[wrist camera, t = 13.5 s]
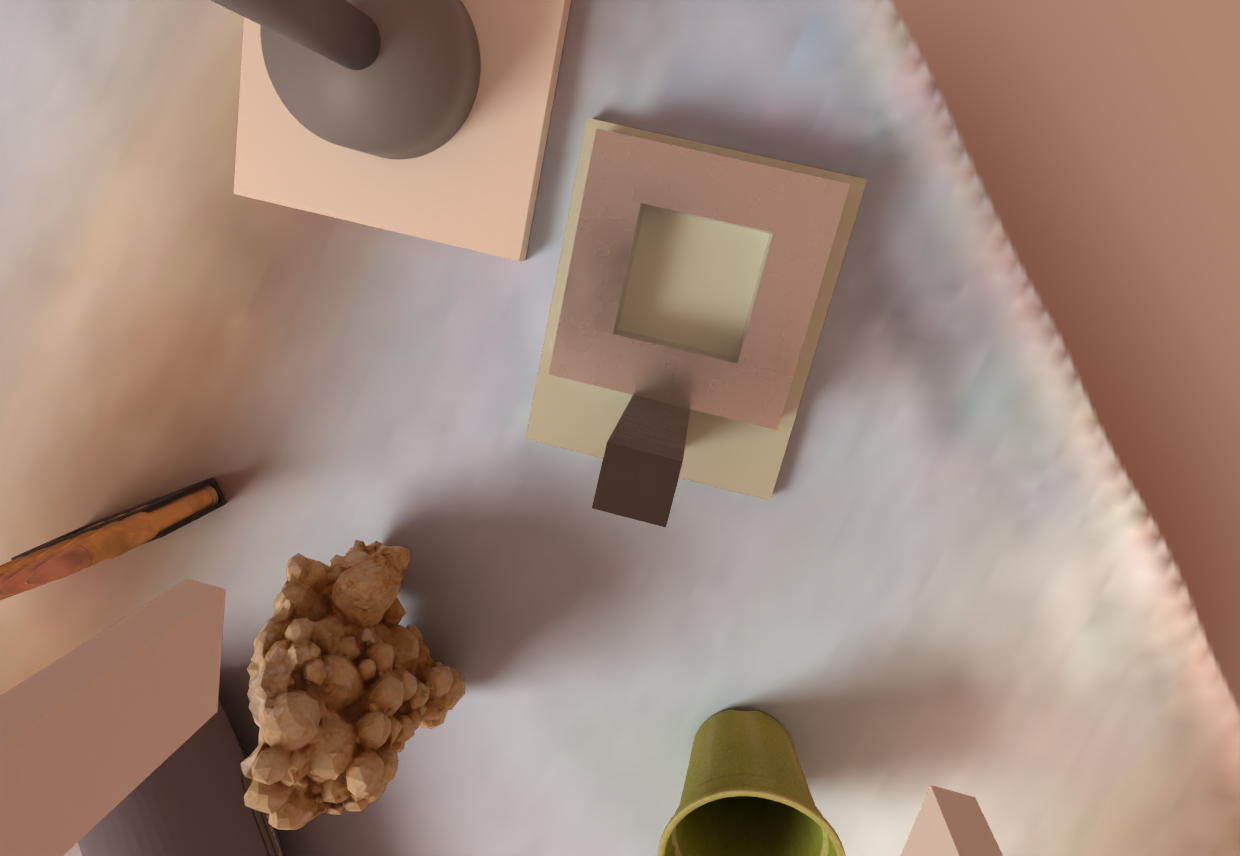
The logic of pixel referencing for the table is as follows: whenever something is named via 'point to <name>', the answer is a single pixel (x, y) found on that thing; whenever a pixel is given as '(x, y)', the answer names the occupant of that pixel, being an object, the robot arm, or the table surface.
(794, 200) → the pink square frame
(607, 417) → the mat
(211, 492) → the ammunition clip
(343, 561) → the mineral formation
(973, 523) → the table surface
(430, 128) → the stand
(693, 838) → the plant pot
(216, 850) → the bluetooth speaker
